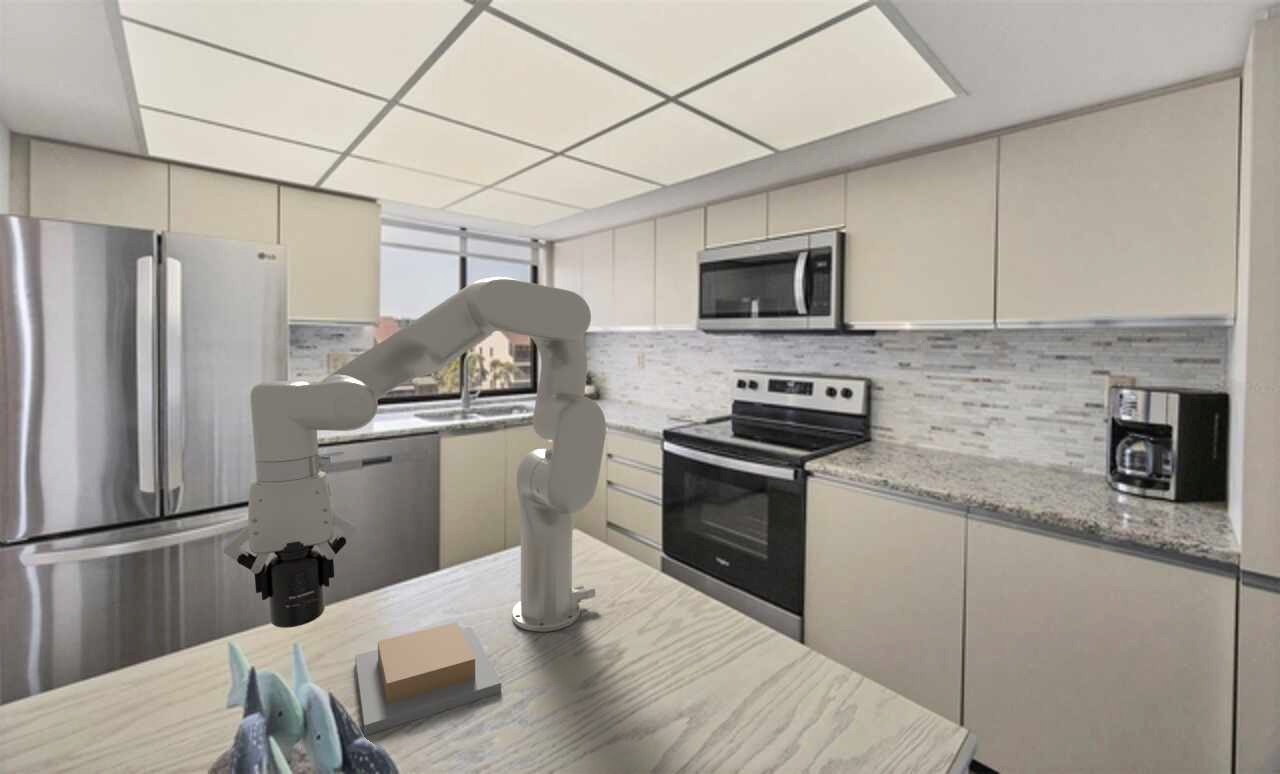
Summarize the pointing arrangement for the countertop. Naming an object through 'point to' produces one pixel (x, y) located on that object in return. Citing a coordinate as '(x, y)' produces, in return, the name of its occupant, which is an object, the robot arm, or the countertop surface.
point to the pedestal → (422, 676)
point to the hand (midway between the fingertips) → (296, 588)
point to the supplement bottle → (295, 586)
